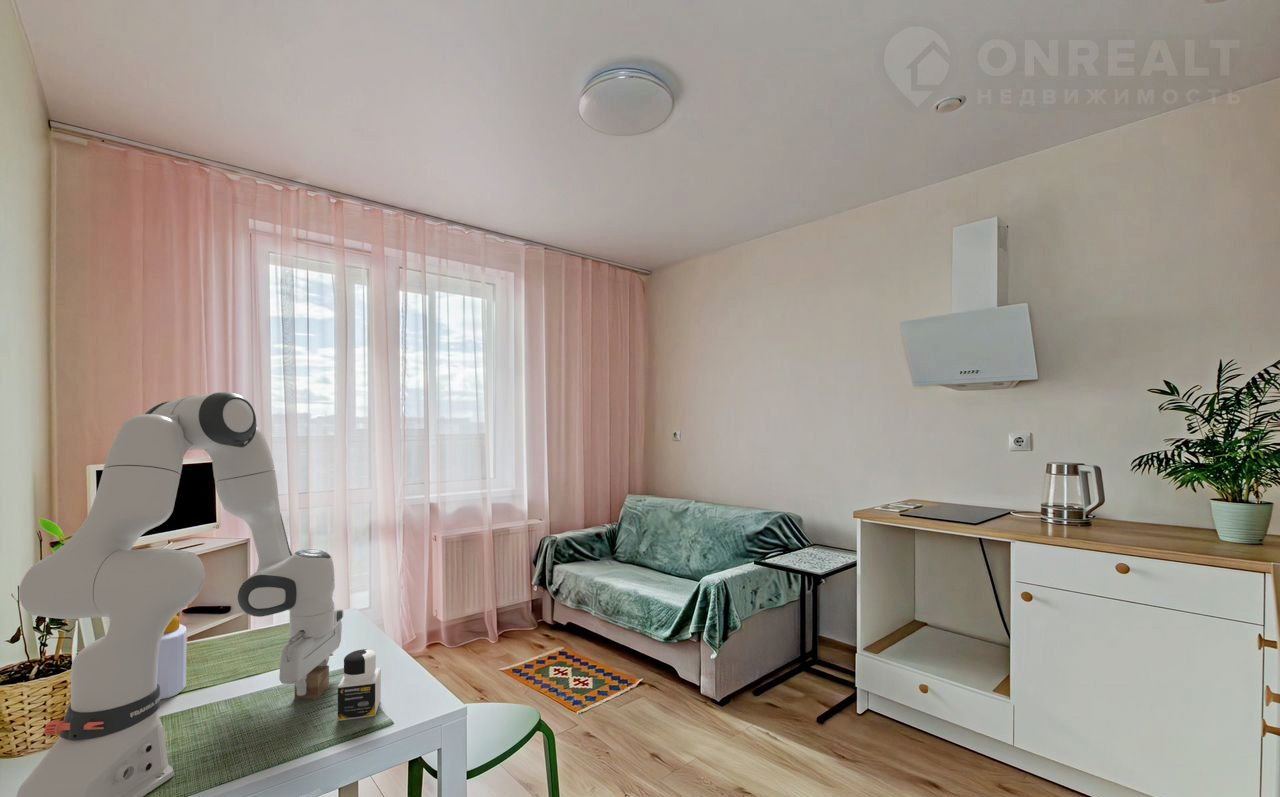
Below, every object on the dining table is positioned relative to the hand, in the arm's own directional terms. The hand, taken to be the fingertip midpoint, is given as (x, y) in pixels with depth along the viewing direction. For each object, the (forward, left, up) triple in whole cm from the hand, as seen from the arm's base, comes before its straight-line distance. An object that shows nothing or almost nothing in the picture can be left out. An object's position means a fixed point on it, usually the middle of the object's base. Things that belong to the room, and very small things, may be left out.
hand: (311, 685), depth 131 cm
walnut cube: (0, 0, -2) cm, 2 cm away
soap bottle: (+4, +35, -2) cm, 35 cm away
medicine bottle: (-9, -14, -2) cm, 17 cm away
